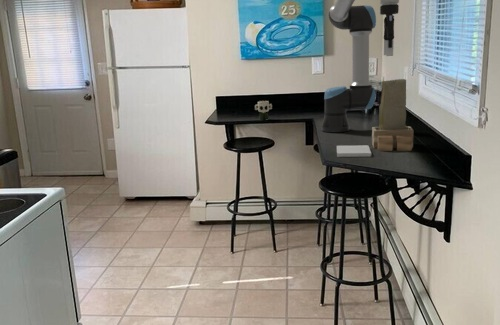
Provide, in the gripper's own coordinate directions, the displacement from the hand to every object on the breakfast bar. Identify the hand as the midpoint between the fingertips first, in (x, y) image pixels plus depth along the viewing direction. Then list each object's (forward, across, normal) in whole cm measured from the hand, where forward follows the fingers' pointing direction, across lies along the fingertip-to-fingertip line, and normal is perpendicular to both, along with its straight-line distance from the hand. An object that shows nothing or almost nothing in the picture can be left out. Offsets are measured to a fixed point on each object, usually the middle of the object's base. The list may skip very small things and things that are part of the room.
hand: (388, 55), depth 207 cm
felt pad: (+40, +12, -15) cm, 45 cm away
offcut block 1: (+41, +7, -1) cm, 41 cm away
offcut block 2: (+41, +6, +7) cm, 42 cm away
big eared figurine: (+41, -80, -69) cm, 114 cm away
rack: (+41, -2, +3) cm, 41 cm away
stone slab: (+41, -2, +3) cm, 41 cm away
